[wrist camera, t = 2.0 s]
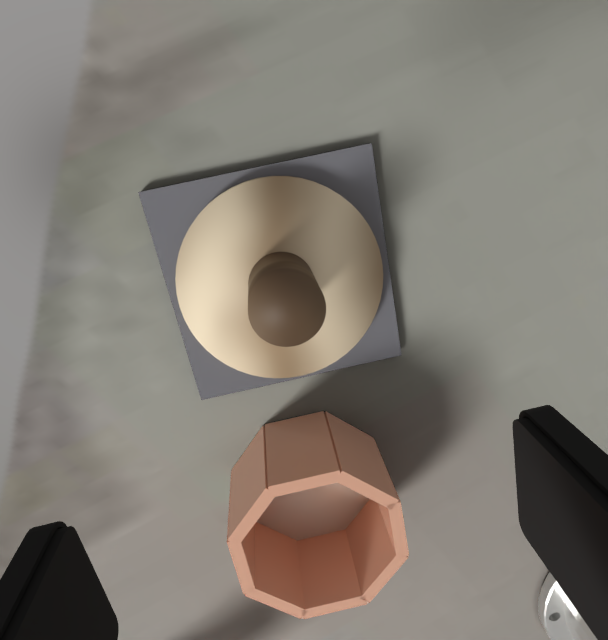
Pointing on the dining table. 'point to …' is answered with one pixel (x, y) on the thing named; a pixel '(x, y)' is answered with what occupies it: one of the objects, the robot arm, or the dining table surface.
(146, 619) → the dining table surface
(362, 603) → the bowl
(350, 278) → the lid
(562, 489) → the robot arm
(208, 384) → the mat
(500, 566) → the dining table surface
